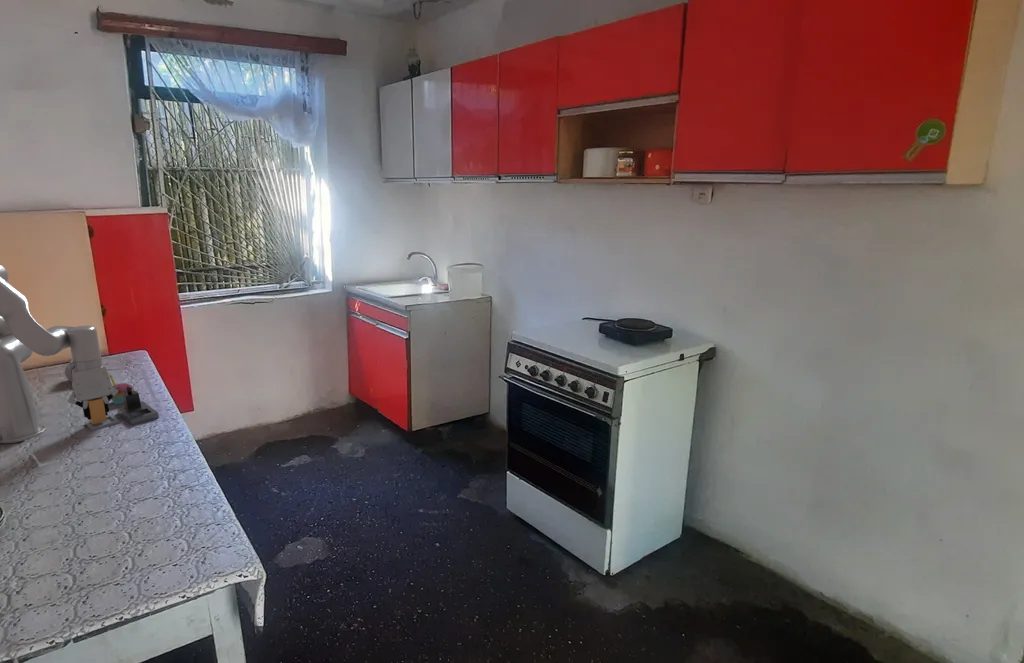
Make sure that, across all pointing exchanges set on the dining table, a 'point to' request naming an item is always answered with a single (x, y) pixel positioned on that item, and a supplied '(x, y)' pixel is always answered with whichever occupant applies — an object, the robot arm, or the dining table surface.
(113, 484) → the dining table surface
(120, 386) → the cupcake
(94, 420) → the plug
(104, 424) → the tray
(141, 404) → the grey socket base
